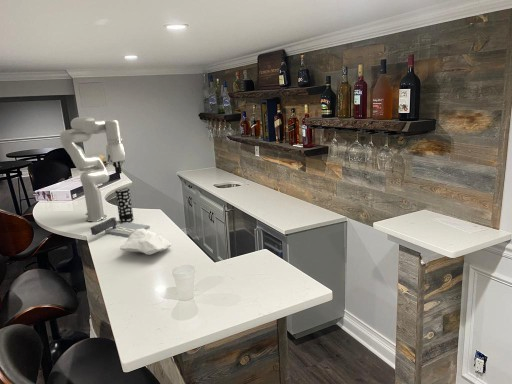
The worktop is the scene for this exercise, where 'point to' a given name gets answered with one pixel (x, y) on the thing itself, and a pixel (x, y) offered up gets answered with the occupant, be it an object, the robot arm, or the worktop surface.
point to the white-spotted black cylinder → (124, 205)
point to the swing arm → (103, 226)
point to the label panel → (125, 229)
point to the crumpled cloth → (145, 242)
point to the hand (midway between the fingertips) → (118, 173)
